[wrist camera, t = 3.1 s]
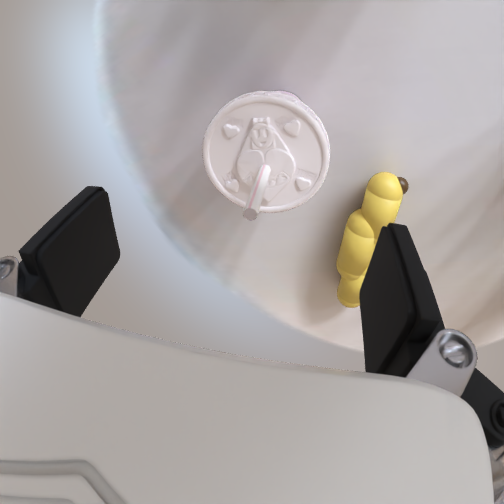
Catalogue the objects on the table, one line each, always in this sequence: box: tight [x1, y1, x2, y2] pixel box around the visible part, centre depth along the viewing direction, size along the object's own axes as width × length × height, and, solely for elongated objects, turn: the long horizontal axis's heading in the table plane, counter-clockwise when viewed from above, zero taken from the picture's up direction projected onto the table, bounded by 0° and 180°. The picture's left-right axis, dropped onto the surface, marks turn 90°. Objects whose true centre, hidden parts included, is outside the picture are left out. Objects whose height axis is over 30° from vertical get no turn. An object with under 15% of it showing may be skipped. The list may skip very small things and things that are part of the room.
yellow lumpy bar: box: [336, 172, 408, 308], centre depth 27 cm, size 14×4×3 cm, turn 177°
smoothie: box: [202, 91, 330, 220], centre depth 17 cm, size 6×6×14 cm
